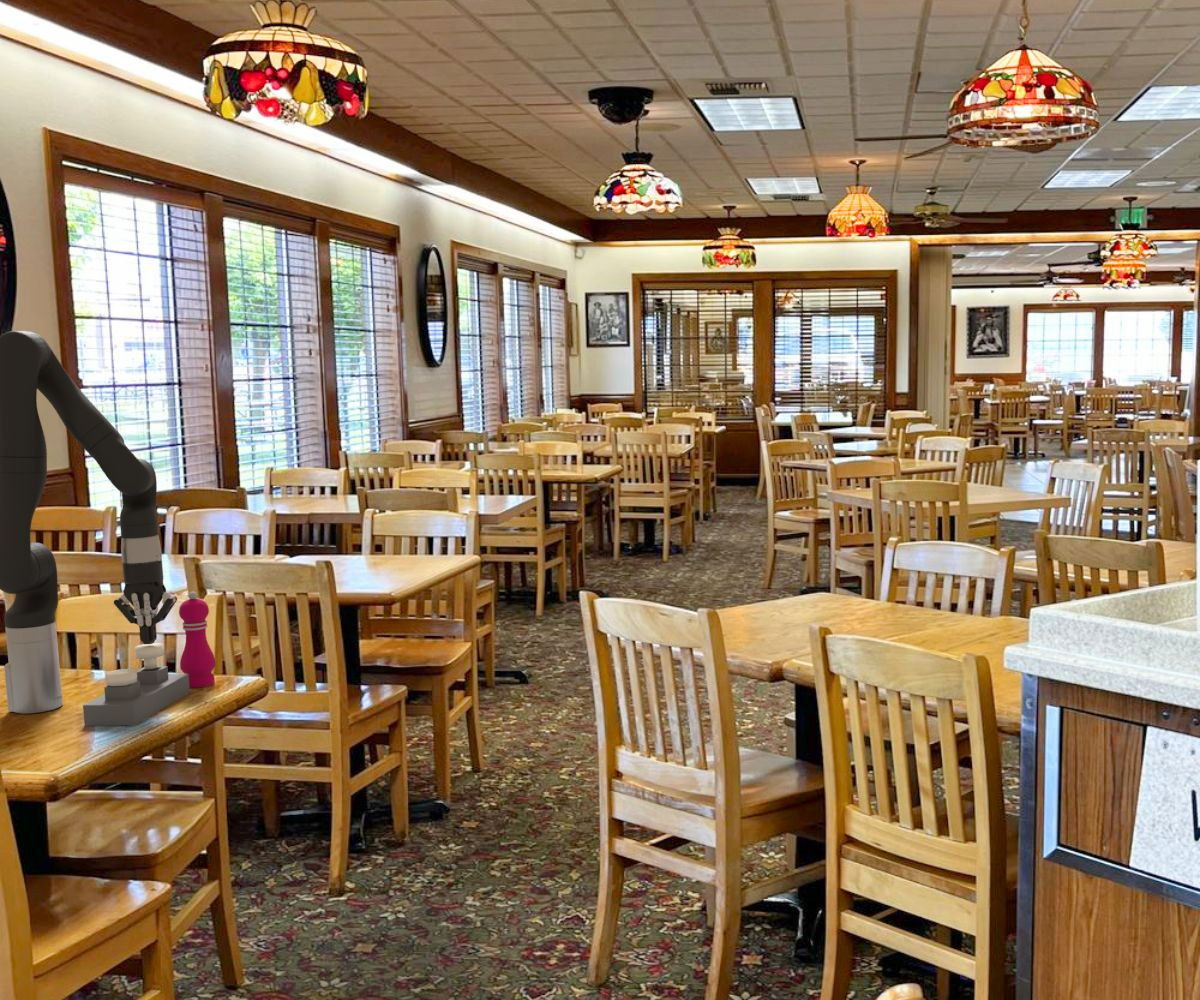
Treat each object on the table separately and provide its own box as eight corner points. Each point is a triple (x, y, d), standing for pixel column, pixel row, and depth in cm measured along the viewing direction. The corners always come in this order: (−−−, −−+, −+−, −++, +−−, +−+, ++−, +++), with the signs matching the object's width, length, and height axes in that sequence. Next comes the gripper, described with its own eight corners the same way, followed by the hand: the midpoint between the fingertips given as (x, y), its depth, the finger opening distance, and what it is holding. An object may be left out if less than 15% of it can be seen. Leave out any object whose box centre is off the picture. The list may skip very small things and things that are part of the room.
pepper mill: (206, 688, 268) (199, 594, 266) (175, 688, 269) (167, 594, 267) (223, 680, 275) (216, 588, 273) (192, 679, 276) (185, 588, 274)
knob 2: (131, 671, 257) (129, 649, 256) (144, 664, 262) (142, 643, 262) (157, 670, 256) (155, 648, 255) (170, 664, 261) (168, 642, 261)
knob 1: (102, 699, 245) (100, 676, 244) (116, 691, 250) (114, 669, 250) (129, 698, 244) (128, 675, 244) (143, 691, 250) (141, 668, 249)
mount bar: (84, 725, 243) (81, 692, 242) (143, 693, 266) (141, 662, 266) (134, 725, 241) (131, 691, 241) (189, 692, 265) (187, 661, 264)
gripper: (101, 562, 254) (108, 648, 255) (164, 560, 252) (171, 647, 254) (119, 556, 261) (127, 640, 263) (181, 554, 259) (188, 638, 261)
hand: (149, 643), depth 258 cm, fingers closed
